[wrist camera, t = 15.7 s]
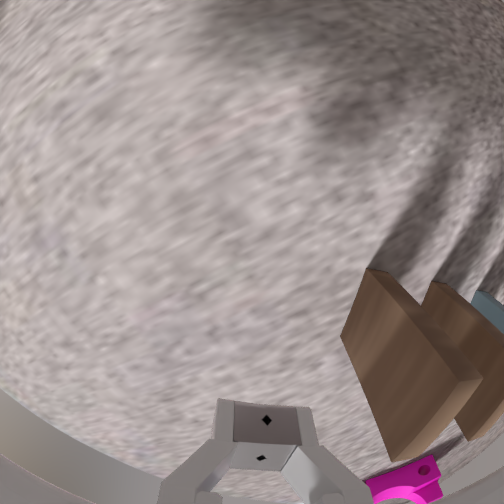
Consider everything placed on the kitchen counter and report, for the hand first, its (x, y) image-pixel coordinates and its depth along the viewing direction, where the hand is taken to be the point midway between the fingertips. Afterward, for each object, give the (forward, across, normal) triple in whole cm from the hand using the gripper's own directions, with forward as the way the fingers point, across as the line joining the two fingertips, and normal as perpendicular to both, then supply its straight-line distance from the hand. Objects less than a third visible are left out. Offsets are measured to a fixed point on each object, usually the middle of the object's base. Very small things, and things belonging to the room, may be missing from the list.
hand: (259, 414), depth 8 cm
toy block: (+9, -25, +29) cm, 39 cm away
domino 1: (+9, -7, 0) cm, 11 cm away
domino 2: (+9, -13, 0) cm, 15 cm away
